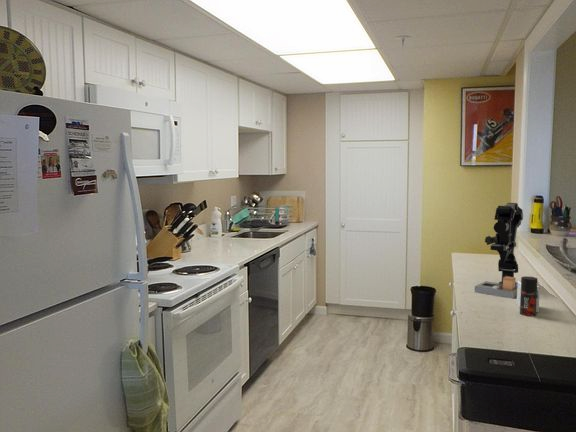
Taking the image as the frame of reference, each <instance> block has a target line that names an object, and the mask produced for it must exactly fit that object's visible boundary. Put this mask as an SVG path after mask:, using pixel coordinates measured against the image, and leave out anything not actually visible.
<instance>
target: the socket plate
mask: <svg viewBox="0 0 576 432" xmlns="http://www.w3.org/2000/svg"><path fill="white" fill-rule="evenodd" d="M477 292H478V293H477ZM474 293H477V294H482V295H484V294H485V295H491V296H497V297H501V298H508V299H516V298H517V285H515V289H514V290H510V289H503V284H502V283H499V282H494V281H493V282H492V281H487V280H486V281H484V282H481V283H478V284H476V285H474Z"/></svg>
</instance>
